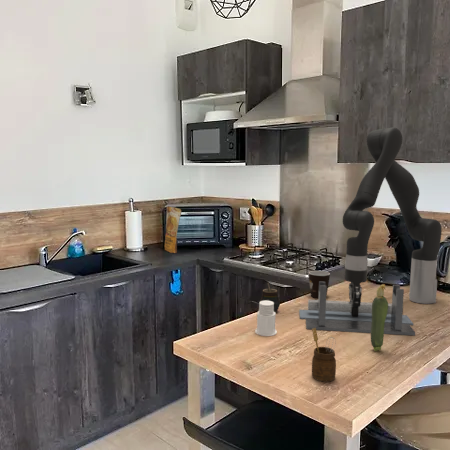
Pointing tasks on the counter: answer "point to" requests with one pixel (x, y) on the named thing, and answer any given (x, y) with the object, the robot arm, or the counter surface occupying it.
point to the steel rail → (344, 306)
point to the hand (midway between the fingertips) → (354, 314)
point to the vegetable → (378, 318)
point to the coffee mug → (317, 282)
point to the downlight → (266, 319)
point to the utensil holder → (323, 362)
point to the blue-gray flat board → (348, 316)
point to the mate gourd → (271, 297)
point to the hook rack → (360, 326)
